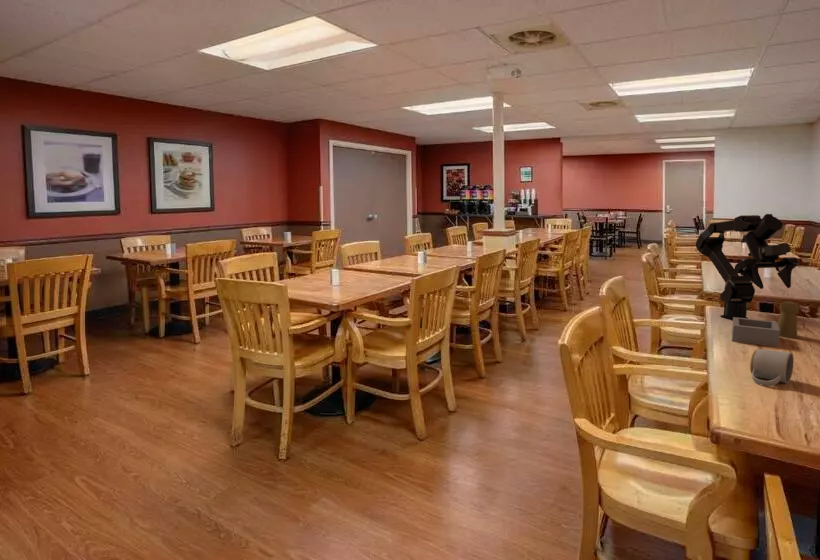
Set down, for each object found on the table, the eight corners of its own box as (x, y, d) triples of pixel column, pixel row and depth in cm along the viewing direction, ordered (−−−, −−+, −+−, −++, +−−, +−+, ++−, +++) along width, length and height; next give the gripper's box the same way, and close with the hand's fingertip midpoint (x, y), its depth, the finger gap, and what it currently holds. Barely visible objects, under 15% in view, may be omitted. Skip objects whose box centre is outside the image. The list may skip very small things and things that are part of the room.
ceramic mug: (755, 371, 143) (758, 343, 141) (792, 379, 137) (795, 350, 135) (743, 382, 135) (746, 353, 134) (782, 391, 130) (785, 360, 128)
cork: (790, 332, 177) (794, 300, 175) (801, 338, 171) (805, 304, 169) (770, 332, 177) (774, 300, 175) (781, 337, 172) (785, 304, 170)
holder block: (731, 331, 179) (733, 317, 178) (775, 336, 173) (776, 321, 172) (732, 341, 169) (733, 325, 168) (778, 346, 163) (779, 330, 162)
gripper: (746, 234, 174) (763, 276, 167) (800, 233, 176) (820, 275, 168) (726, 252, 184) (742, 293, 177) (779, 251, 185) (796, 291, 178)
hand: (775, 287), depth 175 cm, fingers open, 9 cm apart
